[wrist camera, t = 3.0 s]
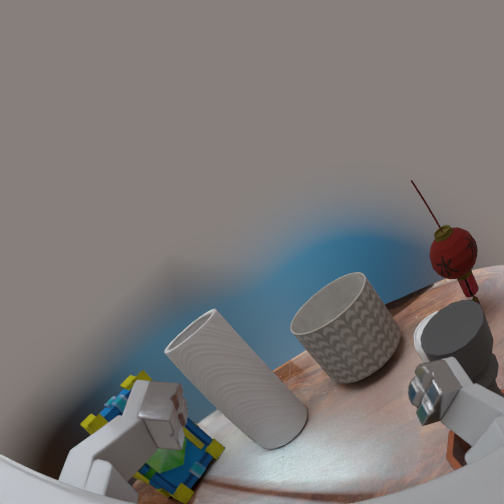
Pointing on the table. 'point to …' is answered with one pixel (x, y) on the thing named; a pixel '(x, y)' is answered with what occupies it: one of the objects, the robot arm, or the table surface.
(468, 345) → the candle holder
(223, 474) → the table surface
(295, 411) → the vase
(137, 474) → the decorative book
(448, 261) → the lantern
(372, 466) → the table surface
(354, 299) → the planter
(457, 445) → the terracotta pot
